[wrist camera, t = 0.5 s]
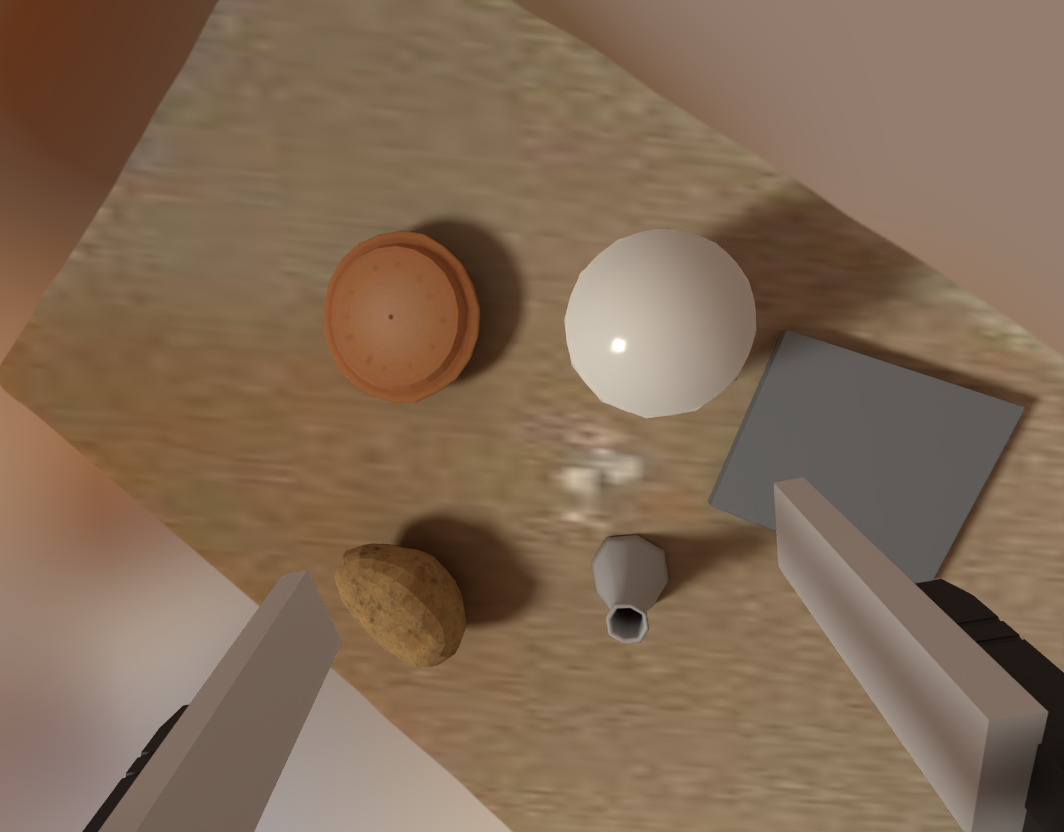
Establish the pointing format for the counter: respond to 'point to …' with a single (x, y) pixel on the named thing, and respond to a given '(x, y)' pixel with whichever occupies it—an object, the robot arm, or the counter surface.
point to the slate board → (866, 448)
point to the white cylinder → (660, 322)
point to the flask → (629, 583)
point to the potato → (403, 601)
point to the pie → (401, 316)
